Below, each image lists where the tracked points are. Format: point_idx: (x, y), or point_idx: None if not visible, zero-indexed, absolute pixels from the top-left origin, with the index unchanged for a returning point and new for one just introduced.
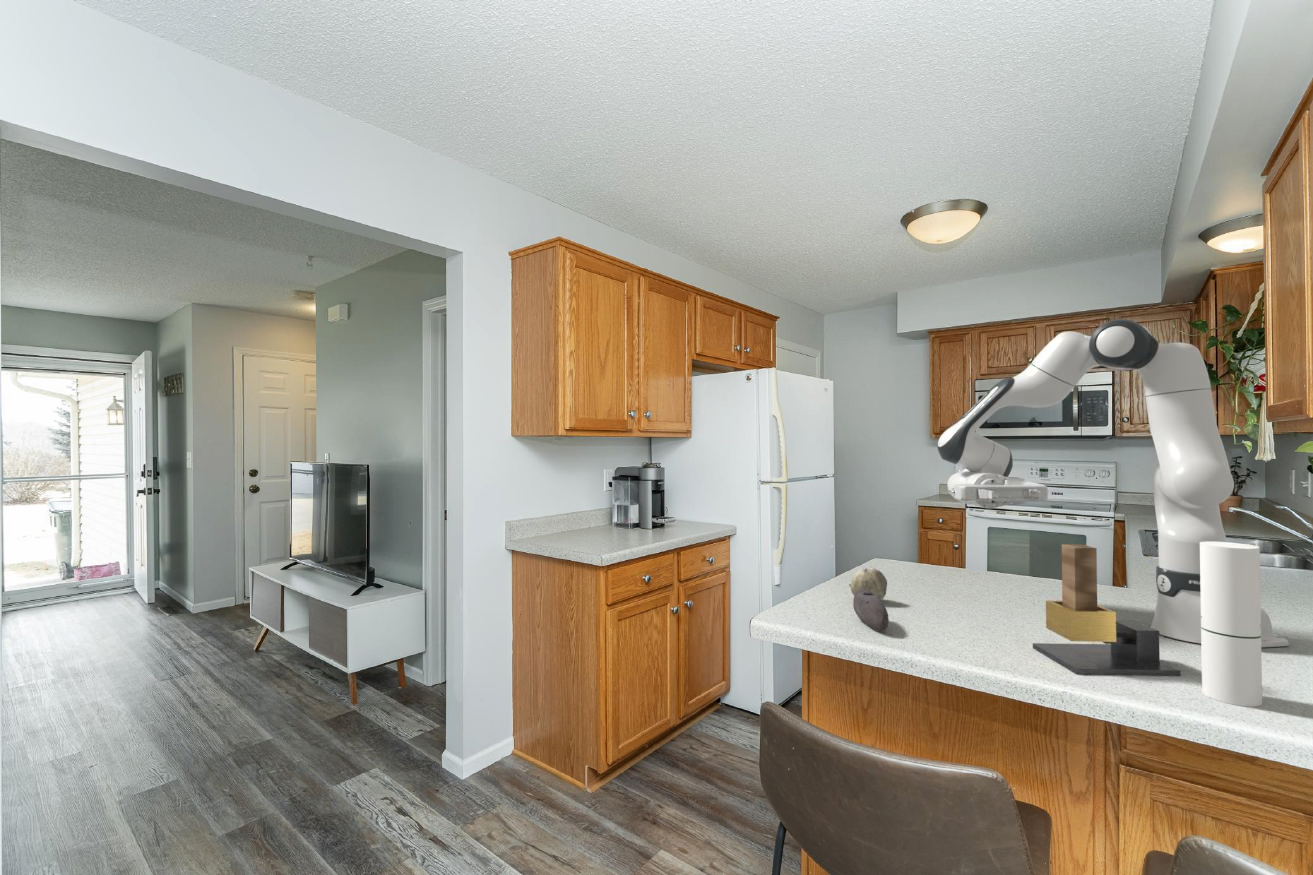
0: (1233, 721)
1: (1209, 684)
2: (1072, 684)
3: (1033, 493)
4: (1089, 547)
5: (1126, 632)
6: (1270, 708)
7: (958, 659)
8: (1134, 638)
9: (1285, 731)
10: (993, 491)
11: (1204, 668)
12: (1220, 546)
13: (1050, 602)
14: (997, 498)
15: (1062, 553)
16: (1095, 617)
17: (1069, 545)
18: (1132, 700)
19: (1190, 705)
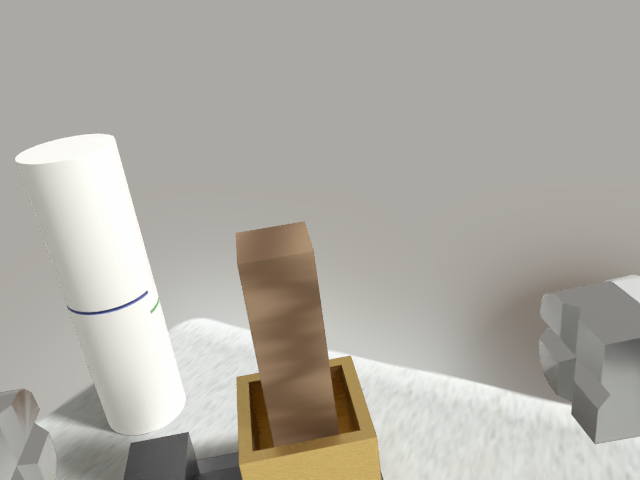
0: (225, 339)
1: (180, 380)
2: (395, 391)
3: (30, 417)
4: (251, 234)
5: (190, 473)
6: None
7: (624, 455)
8: (193, 455)
9: (183, 331)
10: (608, 283)
11: (173, 368)
12: (104, 137)
13: (370, 419)
14: (549, 370)
15: (316, 277)
16: None
17: (295, 245)
18: None
19: (244, 366)
